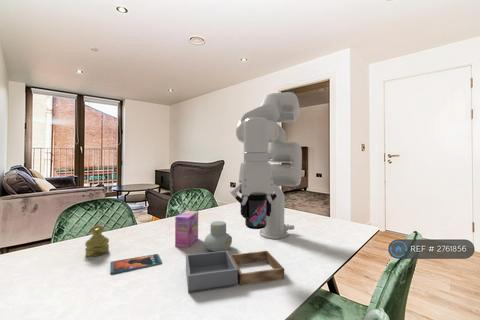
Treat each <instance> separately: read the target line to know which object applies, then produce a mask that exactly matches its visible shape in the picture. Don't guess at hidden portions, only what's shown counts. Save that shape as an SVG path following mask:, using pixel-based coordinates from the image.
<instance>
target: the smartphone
mask: <svg viewBox="0 0 480 320" xmlns="http://www.w3.org/2000/svg"><path fill="white" fill-rule="evenodd" d="M160 265H163V261H162V259H161V257H160V254H159V253H155V254H150V255H149V254H148V255H143V256H137V257H131V258H124V259H120V260H119V259H118V260H113V261H110V266H109V267H110V269H109V270H110V272H109V273H110V275H115V274H121V273H126V272H131V271H135V270H140V269H141V270H142V269H145V268H146V269H147V268H149V267H154V266H160Z"/></svg>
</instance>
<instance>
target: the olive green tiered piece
mask: <svg viewBox="0 0 480 320" xmlns="http://www.w3.org/2000/svg"><path fill="white" fill-rule="evenodd" d="M105 230H106V226H103V225H101V224H96V225H94V226H92V227H91V228H89V229H88V231H89V232H90V233H92V236H91V237H90V238H89V239H87V240H86V242H84V244H85V245H84V246H85V249H84V252H85V253H84V254H85V256H87V257H91V258H92V257H99V256H103V255H105V254H107V253H108V252H109V250H110V244H109V242H110V239H109V237H107V236H105V235H104V234H102V232H103V231H105Z"/></svg>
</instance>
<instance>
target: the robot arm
mask: <svg viewBox="0 0 480 320" xmlns="http://www.w3.org/2000/svg"><path fill="white" fill-rule="evenodd" d="M300 115H301V109H300V102H299V98H298V96H297V95H296V94H295V93H294V92H292V91H291V92H290V91H287V92H286V91H285V92H273V93H268V94H267V95H266V96H264V98H263V100H262V102H261V103H260V106H257V107H256V108H253V109H251V110H249V111H247V112H245V113H244V114H243V115H242V116H241V117H240V119H239V120H238V122H237V124H236V129H235V134H236V135H235V136H236V139H237V140H238V141H239V142H240V143H243V162H241V163H240V167H239V175H238V184H237V185H236V186H235V187H234V188H232V189H231V191H230V194H231V195H232V197H233V198H234V199H235V200H236V201H237V202H238V203H239V204H240V215H241V216H242V218H244V219H245V218H247V205H246V201H247V199H248V196H250V195H251V194H267V225H266V227H265V228H263V229H259V235H260V236H261V237H263V238H265V239H271V240H273V239H274V240H277V239H279V240H280V239H284V238H287V237H288V236H289V233H288V231H289V230H291V231H292V230H295V225H294V224H291V225H290V224H286V223H285V204H286V203H285V201H286V200H285V199H286V197H285V194H284V192H283V190H282V189H281V187H298V186H300V184H301V181H302V172H303V171H302V170H303V169H302V168H303V167H302V163H303V162H302V161H303V155H302V153H303V151H302V146H301V144H300V143H299V142H296V141H286V137H287V136H286V135H287V133H286V131H285V130H284V128H283V127H282V126H281V125H280V124H279V123H295V122H297V121H298V120H299V119H300V117H301V116H300ZM272 163H273V164H272ZM282 163H283V164H282ZM284 163H285V164H284ZM286 163H287V164H286ZM288 163H289V164H288ZM238 193H239V194H241V196H240V195H239V194H238Z"/></svg>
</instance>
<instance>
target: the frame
mask: <svg viewBox="0 0 480 320" xmlns="http://www.w3.org/2000/svg"><path fill="white" fill-rule="evenodd" d="M229 255H230V257H231V258H232V260H233V262H234V264H235V266H236V268H237V269H238V283H239V284H238V285H239V286H246V285H253V284H260V283H265V282H273V281H279V280H285V267H283V266H282V264H280V262H278V260H277V259H276V258H275V257H274V256H273V255H272V254H271V253H270V252H269V251H268V250H262V251H251V252H244V253H243V252H242V253H235V254H234V253H233V254H229ZM262 261H263V262H264V261H266V262H267V263H268V264H269V266H270V267H271V269H264V270H257V271H248V272H242V271H241V269H240V268H239V266H238V264H247V263H255V262H256V263H257V262H262Z"/></svg>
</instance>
